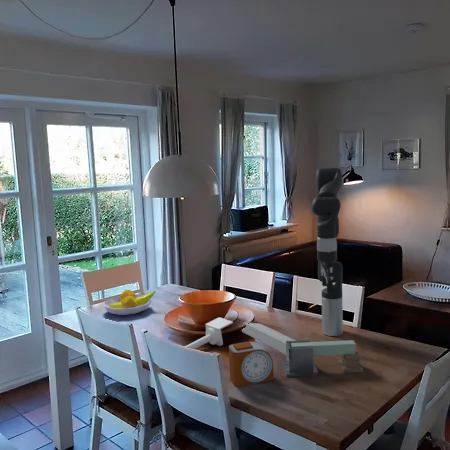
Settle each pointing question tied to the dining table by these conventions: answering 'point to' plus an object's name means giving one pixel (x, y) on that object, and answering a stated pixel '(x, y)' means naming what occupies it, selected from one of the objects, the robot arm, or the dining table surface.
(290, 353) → the cup bracket
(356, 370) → the post
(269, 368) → the alarm clock
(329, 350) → the green rail
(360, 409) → the dining table surface
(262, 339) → the decorative molding
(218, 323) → the white mallet
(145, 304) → the fruit bowl
